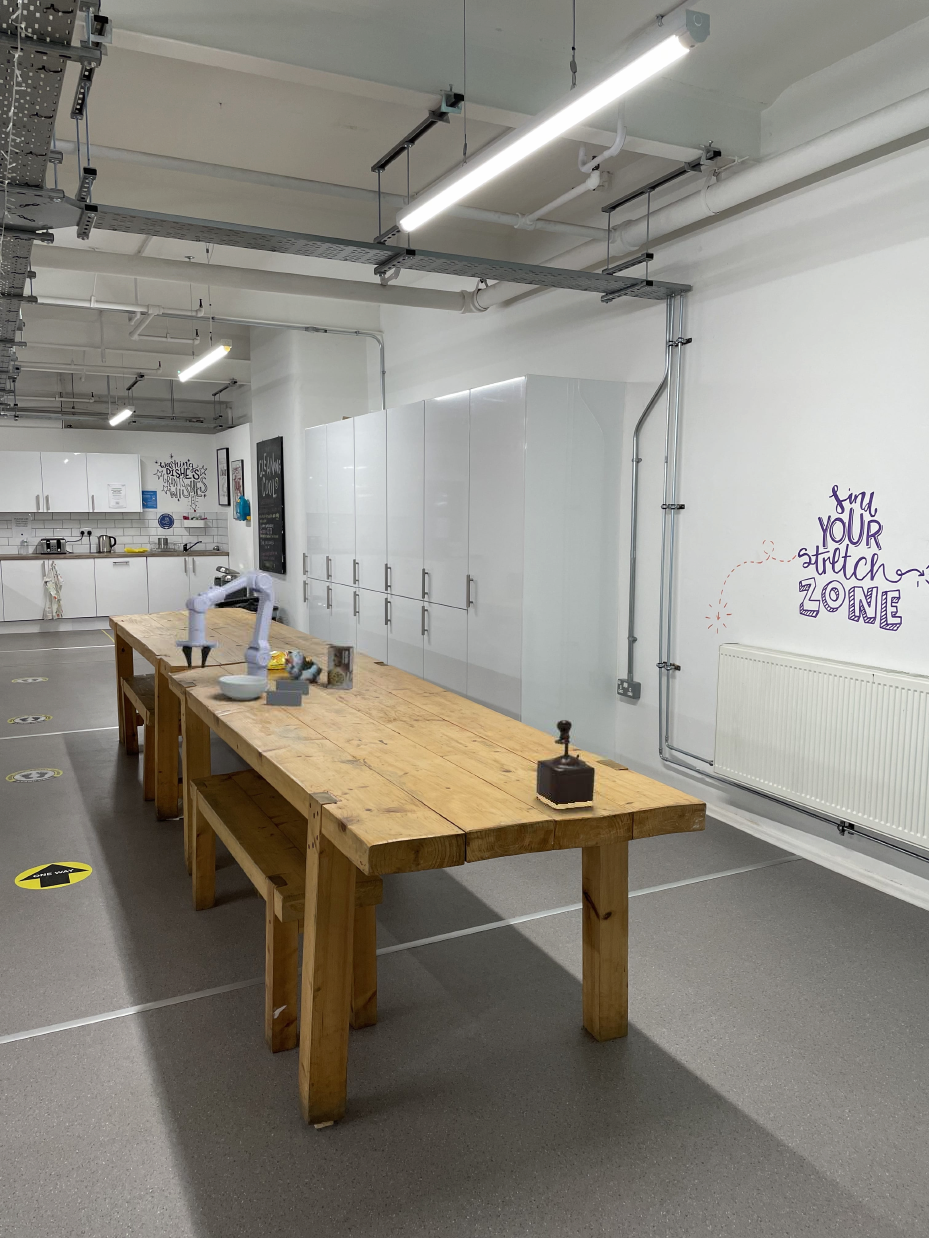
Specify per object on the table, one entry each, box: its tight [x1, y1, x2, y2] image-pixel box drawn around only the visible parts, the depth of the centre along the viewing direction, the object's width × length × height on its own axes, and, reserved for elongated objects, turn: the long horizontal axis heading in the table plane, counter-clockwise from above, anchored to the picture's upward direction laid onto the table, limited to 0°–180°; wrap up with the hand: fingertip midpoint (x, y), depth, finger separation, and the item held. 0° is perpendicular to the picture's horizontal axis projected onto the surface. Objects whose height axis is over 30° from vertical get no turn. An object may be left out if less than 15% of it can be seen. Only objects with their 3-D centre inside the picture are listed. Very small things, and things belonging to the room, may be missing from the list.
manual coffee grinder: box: [536, 719, 596, 805], centre depth 212 cm, size 16×11×18 cm
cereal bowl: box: [218, 674, 268, 701], centre depth 314 cm, size 17×17×7 cm
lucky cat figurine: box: [284, 650, 324, 684], centre depth 352 cm, size 15×12×14 cm
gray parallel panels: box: [265, 679, 310, 707], centre depth 315 cm, size 21×12×5 cm, turn 3°
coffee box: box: [326, 645, 355, 691], centre depth 341 cm, size 9×6×16 cm
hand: (196, 667), depth 312 cm, fingers open, 4 cm apart
